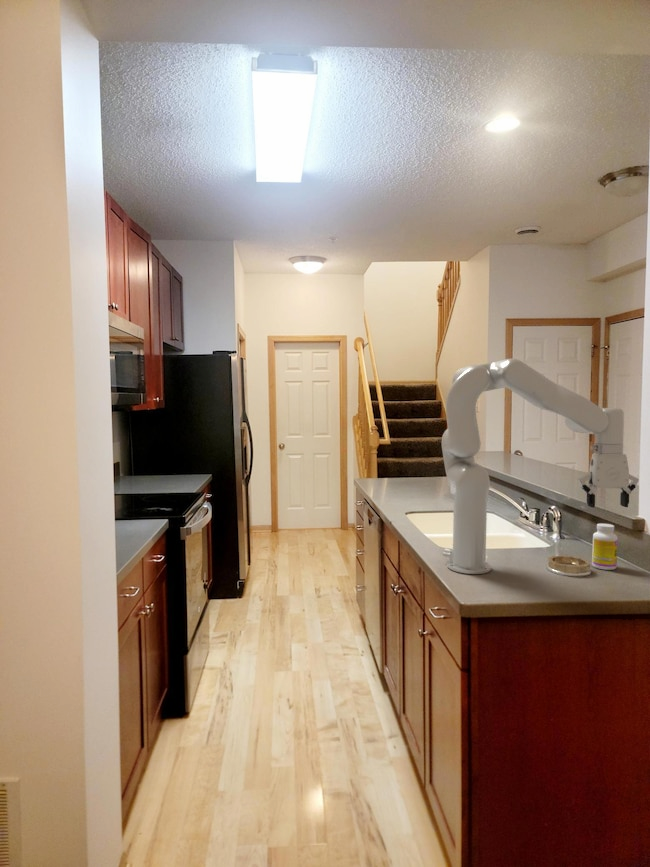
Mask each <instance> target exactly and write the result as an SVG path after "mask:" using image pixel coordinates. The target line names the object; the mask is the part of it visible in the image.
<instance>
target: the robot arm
mask: <svg viewBox="0 0 650 867" xmlns="http://www.w3.org/2000/svg"><path fill="white" fill-rule="evenodd" d="M451 383H452V385H451V386H450V389H449V391H448V393H447V396H446V400H445V414H446V423H447V429H445V430H444V432H443V434H442V436H441V450H442V451H441V452H442V457H443V463H444V464H443V465H444V469H445V474H446V478H447V482H448V483H449V484H450V485H451V486H452V487H453V488H455V495H454V500H453V509H452V510H453V515H452V516H453V518H452V519H453V523H452V524H453V525H452V526H453V528H452V530H453V531H452V532H453V533H452V549H449V548H444V550H443V552H442V556H443V557H446V558H447V557H448V558H449V560H448V561H447V563H446V566H447V567H448V569H449V570H451V571H454V572H457V573H460V574H467V575H481V574H486V573H489V572H491V570H492V565H491V563H489V562H487V560H486V556H487V519H488V518H487V517H488V516H487V515H488V514H487V513H488V512H487V510H488V508H487V507H488V499H489V498H488V497H489V492H490V486H491V483H490V482H491V481H490V475H489V473H488V471H487V470H486V468H485V467H484V466H482V465H481V464H479V463H476V461H475V456H476V455H478V453H479V451H480V449H481V444H482V443H481V442H482V441H481V437H480V431H479V426H478V419H477V402H478V400H479V398H480V396H481V395H482V394H483V393H484V392H489V391H493V390H500V389H504V388H505V389H509V390H510V391H511V392H513V393H515V394H516V395H517V396H519V397H521V398H522V399H525V400H526V401H527V402H529V404H531V405H533V406H534V407H537V408H539V409H541V410H542V411H543V410H544V411H548V412H551V413H554V414H557V415H559V416H562V417H563V418H564V423H565V425H566V427H567V428H568V429H569V430H570V431H572V432H576V433H580V434H588V435H594V442H593V445H590V447H589V448H590V451H593V452H594V453H592V455H591V458H590V463H589V472H588V473H587V474H585V475H583V476H581V477H579V478H577V481H578V484H579V485H580V488H581V489H582V490H584V492H585V493H586V504H587V506H588V507H589V508H595V507H596V494H594V493H595V491H597V490H598V489H620V490H621V491H622V492H620V496H619V497H620V498H619V499H620V500H619V503H620V504H619V505H620V506H621V507H624V508H628V507H629V504H630V494H632V492H633V491H634V490H635V488H637V487H636V486H637V484H638V483H639V480H640V479H639V478H637V477H636V476H634V475H633V474H630V472H629V471H630V469H629V463H628V462H629V461H628V457H627V454H626V453H624V422H625V421H624V419H625V414H624V410H623V409H622V408H619V407H600V406H599V405H597V404H595V403H594V402H592V401H591V400H589V399H587V398H586V397H584V396H582V395H581V394H579V393H577V392H575V391H573V390H570V389H569V388H567V387H565V386H563V385H560V384H557V383H556V382H554V381H552V380H551V379H549V378H548V377H546V376H545V375H543V373H542V374H541V373H540V372H539V371H537V370H535V369H534V368H533V367H532V366H529V364H527V363H525V362H523V361H521V360H520V359H517V358H505V359H500V360H497V361H493V362H487V363H484V364H474V365H473V364H472V365H468V366H464V367H461V368H459V369H457V370H456V371H455V373H453V376H452V382H451ZM587 481H588V483H589V484H588V485H587V484H586V482H587Z"/></svg>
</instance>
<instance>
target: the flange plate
mask: <svg viewBox="0 0 650 867" xmlns="http://www.w3.org/2000/svg"><path fill="white" fill-rule="evenodd" d="M546 567H547V568H546V569H547V571H549V572H550V573H552V574H556V575H559V576H563V577H573V578H577V577H579V578H582V577H588V576H590V575H591V574H592V569H591V563H590V562H589V560H586V559H585V558H581V557H577V556H573V555H572V556H571V555H551V556H550V557H547V564H546Z"/></svg>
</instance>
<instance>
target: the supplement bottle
mask: <svg viewBox="0 0 650 867" xmlns="http://www.w3.org/2000/svg"><path fill="white" fill-rule="evenodd" d="M596 530H597V531H596V532H594V533H592V548H591V549H592V551H591V552H592V554H591V555H592V556H591V565H592V567H594V568H596V569H600V570H605V571H611V570H612V571H613V570H615V569H617V564H618V535H617V534H615V533H614V531H615V525H613V524H611V523H597V524H596Z"/></svg>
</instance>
